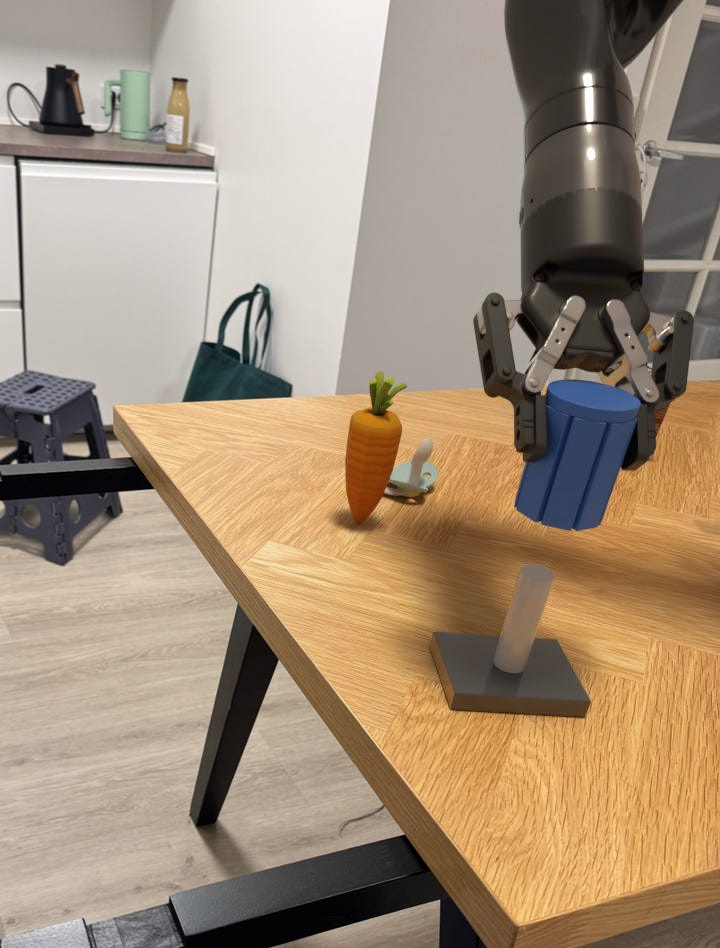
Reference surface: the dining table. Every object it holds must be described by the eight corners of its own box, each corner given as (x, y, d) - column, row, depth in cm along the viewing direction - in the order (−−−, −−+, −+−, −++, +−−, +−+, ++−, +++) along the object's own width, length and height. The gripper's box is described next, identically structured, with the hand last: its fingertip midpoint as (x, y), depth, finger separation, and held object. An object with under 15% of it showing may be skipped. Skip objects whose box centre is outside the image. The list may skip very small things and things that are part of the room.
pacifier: (365, 495, 94) (419, 508, 92) (373, 438, 90) (430, 450, 88) (387, 472, 99) (439, 484, 97) (396, 418, 96) (450, 429, 94)
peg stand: (551, 654, 71) (588, 549, 66) (585, 717, 64) (628, 607, 59) (429, 646, 70) (455, 540, 65) (450, 709, 64) (481, 597, 59)
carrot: (341, 508, 90) (365, 360, 82) (388, 519, 89) (418, 371, 81) (327, 527, 86) (351, 374, 78) (376, 540, 85) (406, 385, 77)
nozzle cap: (558, 488, 63) (593, 376, 58) (618, 523, 59) (660, 406, 54) (497, 498, 60) (529, 382, 56) (555, 535, 56) (594, 413, 52)
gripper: (493, 172, 55) (494, 428, 51) (718, 194, 56) (732, 447, 52) (455, 247, 62) (454, 475, 59) (654, 266, 63) (663, 491, 60)
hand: (585, 461), depth 56 cm, fingers closed on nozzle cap, 6 cm apart
